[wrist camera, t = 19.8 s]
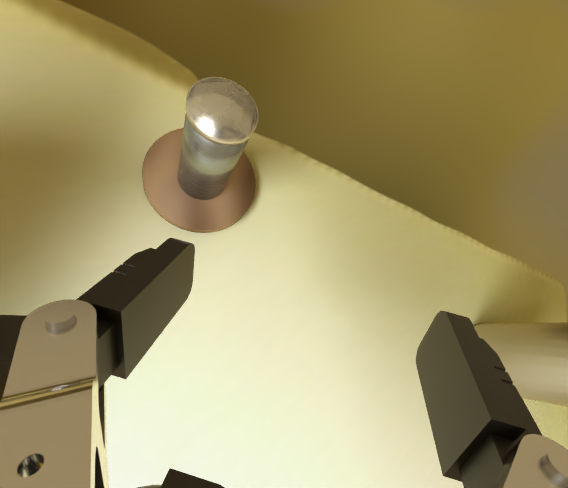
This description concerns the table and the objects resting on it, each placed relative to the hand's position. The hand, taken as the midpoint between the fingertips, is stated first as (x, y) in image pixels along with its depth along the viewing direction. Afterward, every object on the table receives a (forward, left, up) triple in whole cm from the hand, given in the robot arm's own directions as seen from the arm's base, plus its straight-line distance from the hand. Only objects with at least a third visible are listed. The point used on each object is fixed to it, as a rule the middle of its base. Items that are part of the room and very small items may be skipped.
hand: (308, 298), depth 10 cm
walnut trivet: (0, -15, -24) cm, 28 cm away
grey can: (0, -15, -23) cm, 27 cm away
